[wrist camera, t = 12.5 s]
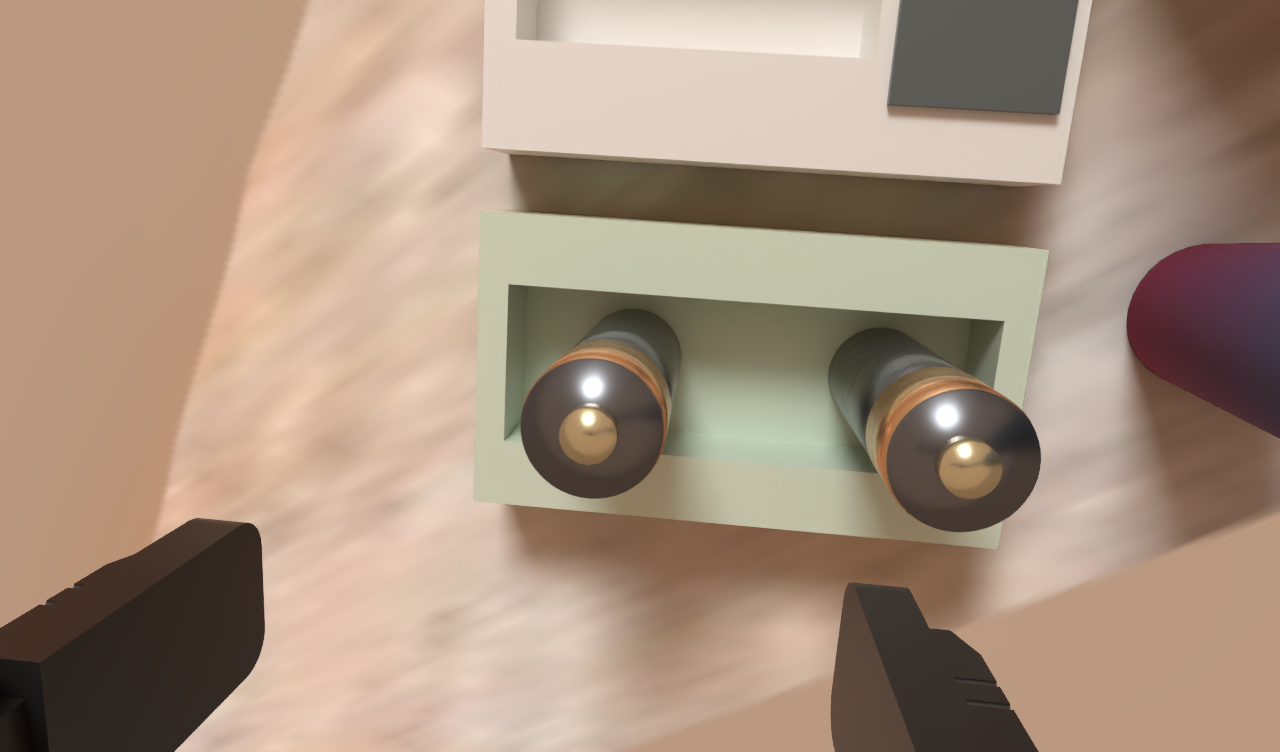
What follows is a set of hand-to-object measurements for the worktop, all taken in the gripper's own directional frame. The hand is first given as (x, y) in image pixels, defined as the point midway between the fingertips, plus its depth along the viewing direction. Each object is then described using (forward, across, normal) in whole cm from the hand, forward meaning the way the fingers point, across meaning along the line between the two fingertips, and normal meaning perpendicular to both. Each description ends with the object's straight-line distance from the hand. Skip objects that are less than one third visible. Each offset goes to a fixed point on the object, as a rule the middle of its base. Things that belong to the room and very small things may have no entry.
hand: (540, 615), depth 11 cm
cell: (+20, +1, 0) cm, 20 cm away
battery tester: (+20, -3, -13) cm, 24 cm away
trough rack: (+20, -3, 0) cm, 20 cm away
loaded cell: (+20, -8, 0) cm, 21 cm away
